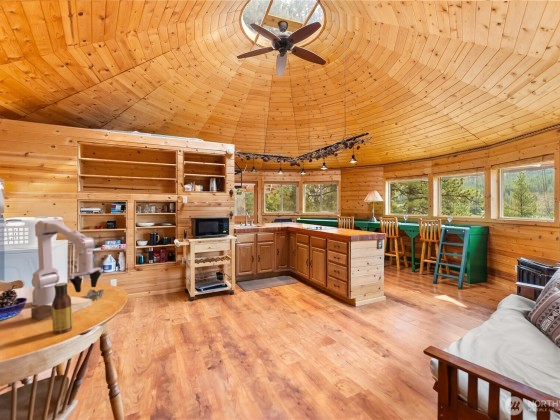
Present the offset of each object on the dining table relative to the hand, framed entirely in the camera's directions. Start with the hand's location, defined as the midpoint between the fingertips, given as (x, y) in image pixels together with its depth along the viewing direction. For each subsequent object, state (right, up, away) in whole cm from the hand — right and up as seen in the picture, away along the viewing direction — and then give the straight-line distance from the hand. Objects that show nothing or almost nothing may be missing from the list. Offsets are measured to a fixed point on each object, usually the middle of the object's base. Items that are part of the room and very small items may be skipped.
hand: (86, 289), depth 128 cm
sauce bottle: (+6, -11, -21) cm, 25 cm away
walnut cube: (-14, -10, -9) cm, 20 cm away
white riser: (-10, -10, +2) cm, 14 cm away
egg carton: (-8, -10, +17) cm, 21 cm away
